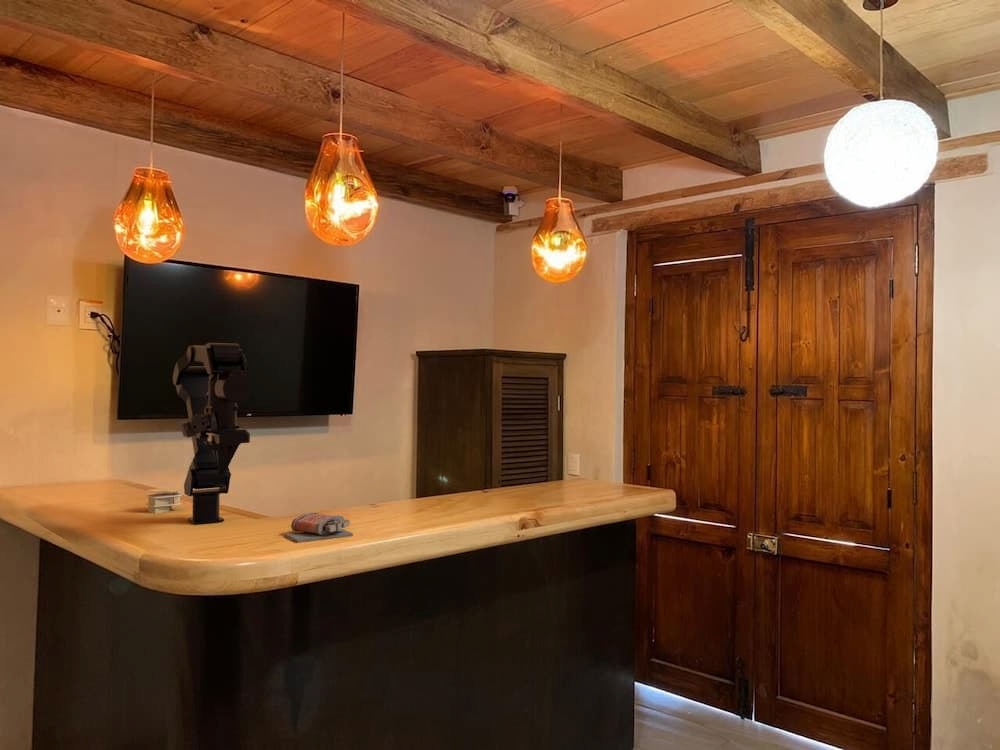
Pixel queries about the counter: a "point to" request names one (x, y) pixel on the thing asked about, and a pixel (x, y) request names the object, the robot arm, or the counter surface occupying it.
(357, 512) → the counter surface
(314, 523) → the lighter
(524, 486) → the counter surface
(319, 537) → the mat
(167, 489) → the stacked layers on plate
